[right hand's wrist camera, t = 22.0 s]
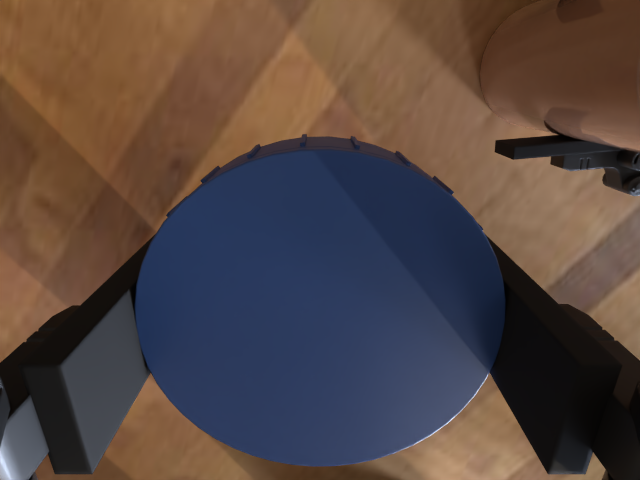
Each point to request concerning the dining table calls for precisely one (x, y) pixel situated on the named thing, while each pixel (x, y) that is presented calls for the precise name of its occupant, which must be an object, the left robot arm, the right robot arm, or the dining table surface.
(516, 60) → the jar
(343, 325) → the lid
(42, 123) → the dining table surface
